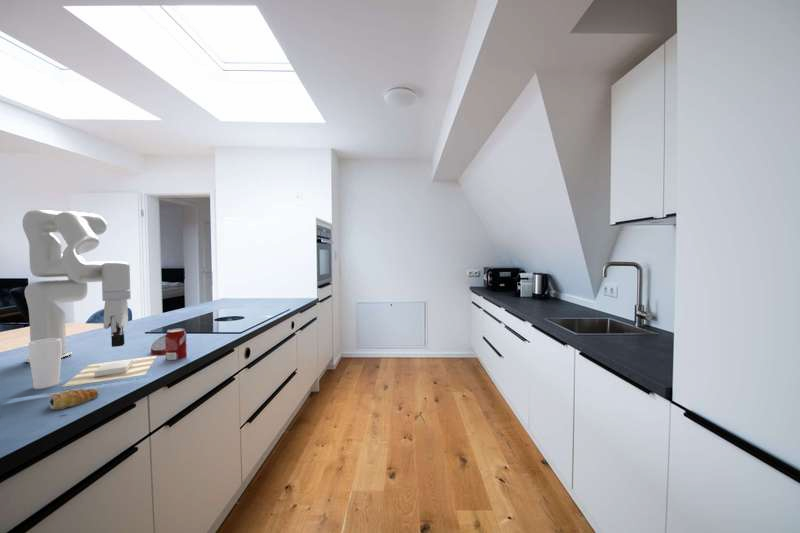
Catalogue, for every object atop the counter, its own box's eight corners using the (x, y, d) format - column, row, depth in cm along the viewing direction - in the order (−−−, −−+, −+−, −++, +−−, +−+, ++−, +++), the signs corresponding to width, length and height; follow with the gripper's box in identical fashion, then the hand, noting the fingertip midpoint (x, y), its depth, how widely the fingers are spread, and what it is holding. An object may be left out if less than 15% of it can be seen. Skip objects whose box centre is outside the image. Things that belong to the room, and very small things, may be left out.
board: (89, 367, 114) (89, 364, 114) (157, 358, 125) (157, 355, 124) (61, 390, 94) (61, 387, 94) (145, 377, 104) (145, 374, 104)
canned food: (180, 363, 132) (185, 344, 130) (150, 366, 125) (155, 347, 122) (175, 346, 139) (180, 328, 137) (146, 349, 132) (151, 330, 129)
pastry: (94, 394, 92) (93, 381, 92) (101, 399, 88) (101, 386, 88) (46, 407, 84) (46, 393, 84) (53, 413, 80) (53, 399, 80)
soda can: (175, 363, 118) (175, 332, 118) (161, 362, 119) (160, 331, 119) (191, 357, 125) (190, 328, 124) (177, 356, 126) (176, 327, 126)
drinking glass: (32, 394, 91) (30, 344, 91) (27, 389, 95) (26, 341, 94) (65, 386, 97) (64, 339, 96) (60, 382, 100) (58, 336, 100)
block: (104, 362, 110) (94, 371, 102) (133, 358, 114) (126, 366, 106) (104, 368, 110) (94, 377, 102) (133, 364, 115) (126, 372, 106)
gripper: (109, 294, 116) (110, 342, 116) (95, 298, 103) (97, 352, 104) (134, 293, 120) (136, 339, 120) (124, 297, 107) (126, 349, 107)
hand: (118, 345), depth 112 cm, fingers closed
